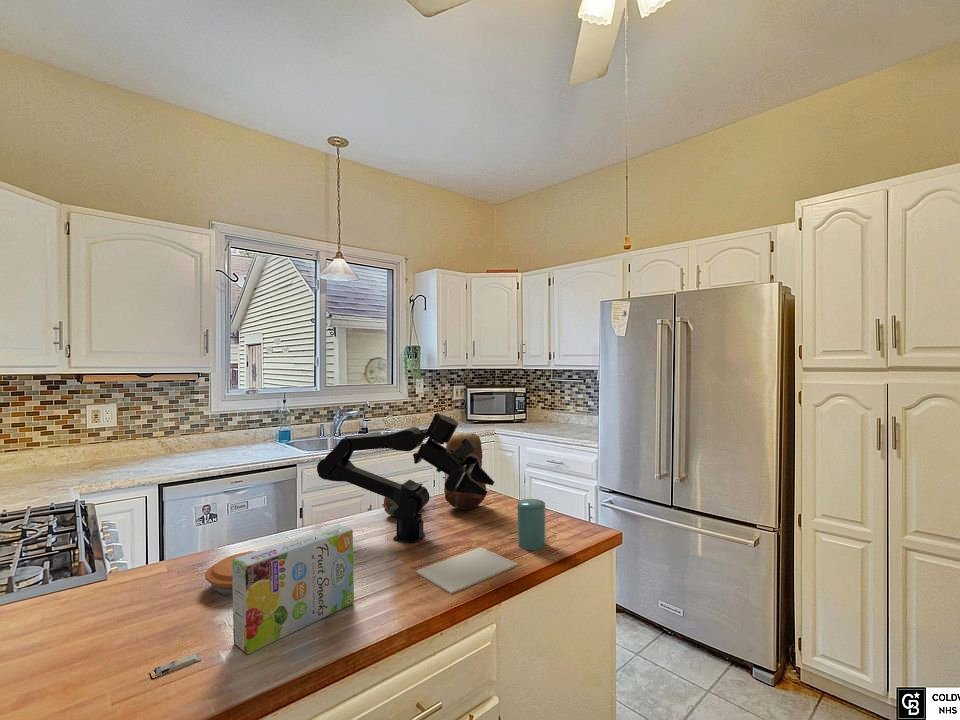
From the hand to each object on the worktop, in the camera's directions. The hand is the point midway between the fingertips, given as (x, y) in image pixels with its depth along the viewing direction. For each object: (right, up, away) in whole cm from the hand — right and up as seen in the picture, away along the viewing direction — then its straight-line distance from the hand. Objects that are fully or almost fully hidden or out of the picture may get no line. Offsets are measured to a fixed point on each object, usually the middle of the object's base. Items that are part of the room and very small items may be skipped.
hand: (490, 488), depth 123 cm
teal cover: (+11, -15, 0) cm, 18 cm away
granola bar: (-51, -16, -48) cm, 72 cm away
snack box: (-37, -15, -36) cm, 54 cm away
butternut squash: (-8, -15, +29) cm, 34 cm away
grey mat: (-6, -15, -14) cm, 21 cm away
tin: (-27, -15, +26) cm, 40 cm away
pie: (-54, -15, -21) cm, 60 cm away
